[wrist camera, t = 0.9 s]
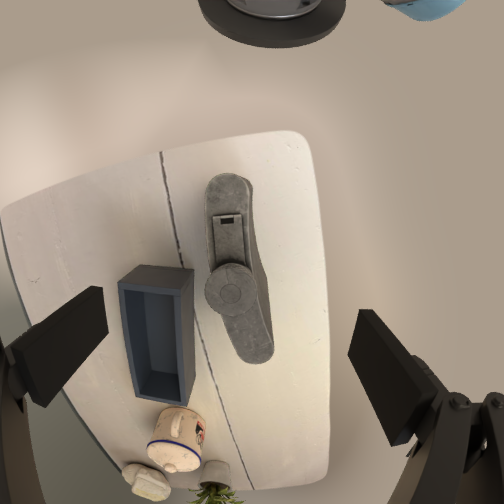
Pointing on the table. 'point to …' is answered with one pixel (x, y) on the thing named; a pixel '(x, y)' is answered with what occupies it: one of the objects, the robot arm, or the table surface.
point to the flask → (237, 268)
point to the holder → (159, 332)
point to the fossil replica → (147, 482)
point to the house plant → (215, 484)
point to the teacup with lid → (177, 440)
